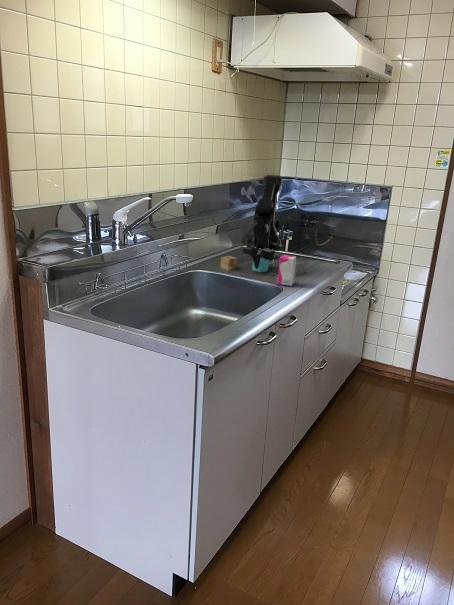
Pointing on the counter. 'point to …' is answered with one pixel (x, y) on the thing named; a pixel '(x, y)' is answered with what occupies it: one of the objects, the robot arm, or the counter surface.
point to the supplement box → (286, 270)
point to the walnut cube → (228, 263)
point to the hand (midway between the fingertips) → (260, 267)
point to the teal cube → (262, 265)
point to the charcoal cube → (299, 268)
